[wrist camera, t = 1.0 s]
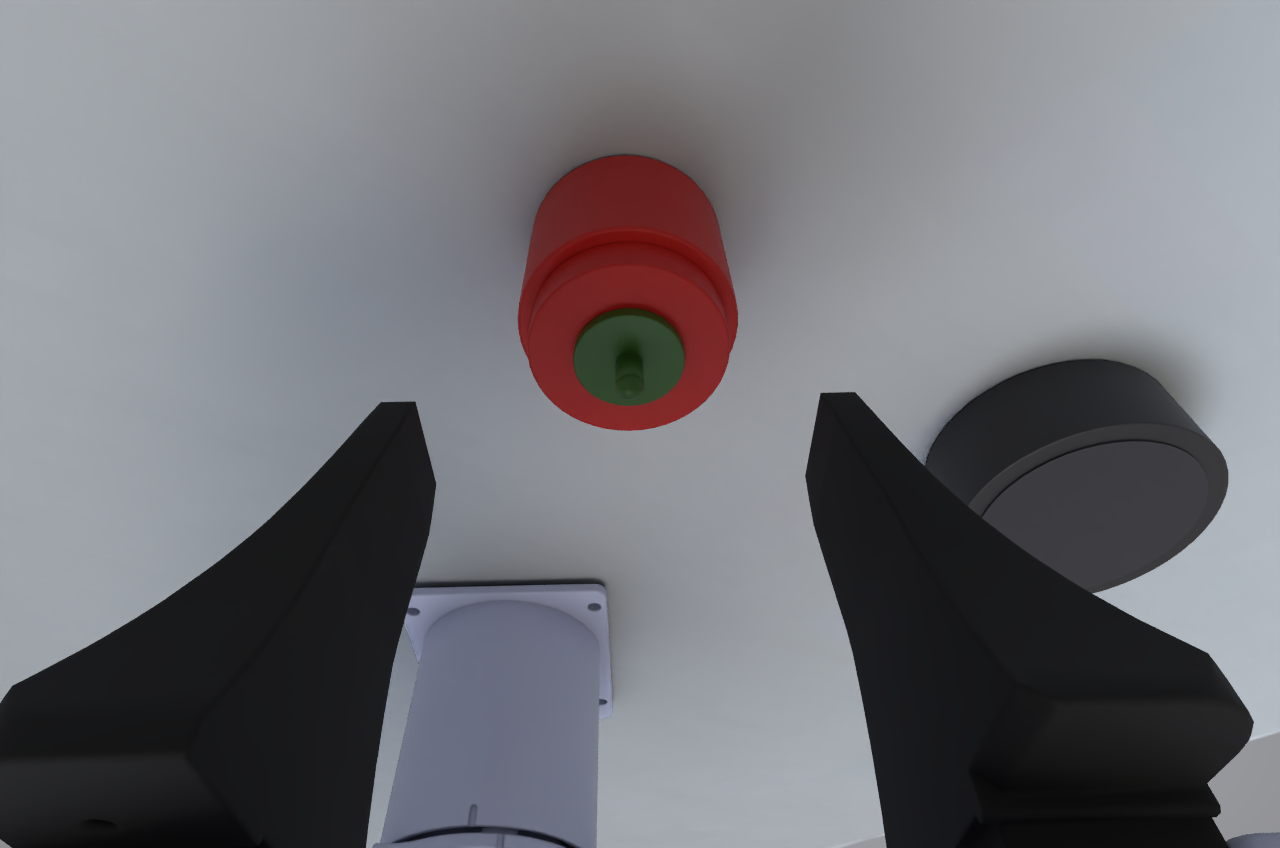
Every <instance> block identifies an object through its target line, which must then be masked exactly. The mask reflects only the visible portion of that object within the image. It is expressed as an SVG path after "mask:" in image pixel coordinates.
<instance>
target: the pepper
mask: <svg viewBox="0 0 1280 848" xmlns="http://www.w3.org/2000/svg"><path fill="white" fill-rule="evenodd" d="M737 327H738V310H737V303H736V298H735V294H734V289H733V285H732V281H731V276H730V272H729V268H728V264H727V259H726V255H725V251H724V246H723V242H722V238H721V234H720V229H719V225H718V221H717V218H716V215H715V212H714V210H713V208H712V206H711V203H710V202H709V200H708V199H707V197H706V195H705V194H704V192H703V191H702V190H701V189H700V188H699V187H698V186H697V184H696V183H695V182H693V181H692V180H691V179H690V178H689V177H688V176H687V175H685V174H684V173H682V172H681V171H679V170H678V169H676V168H674V167H672V166H670V165H668V164H666V163H664V162H661V161H657V160H654V159H651V158H646V157H640V156H627V155H623V156H611V157H606V158H602V159H597V160H595V161H592V162H589V163H586V164H584V165H582V166H580V167H578V168H576V169H574V170H573V171H571V172H570V173H569V174H567V175H566V176H564V177H563V178H562V179H561V180H560V181H559V182H558V183H557V184H556V185H554V187H553V188H552V189H551V190H550V192H549V193H548V194H547V195H546V197H545V199H544V200H543V202H542V204H541V205H540V208H539V210H538V212H537V215H536V218H535V222H534V226H533V230H532V236H531V241H530V247H529V252H528V258H527V264H526V269H525V275H524V280H523V286H522V291H521V297H520V302H519V310H518V330H519V335H520V340H521V343H522V346H523V348H524V351H525V354H526V355H527V357H528V360H529V365H530V368H531V371H532V373H533V376H534V378H535V380H536V382H537V383H538V385H539V387H540V388H541V390H542V391H543V392H544V394H545V395H546V396H547V397H548V398H549V399H550V400H551V401H552V402H553V403H554V404H555V405H556V406H557V407H559V408H560V409H561V410H562V411H564V412H565V413H567V414H569V415H570V416H572V417H574V418H576V419H578V420H580V421H582V422H585V423H587V424H590V425H593V426H597V427H601V428H605V429H612V430H627V431H632V430H644V429H650V428H655V427H659V426H662V425H666V424H668V423H671V422H673V421H676V420H678V419H680V418H682V417H684V416H686V415H688V414H689V413H691V412H692V411H694V410H695V409H697V408H698V407H699V406H700V405H701V404H702V403H704V402H705V401H706V400H707V399H708V397H709V396H710V395H711V394H712V393H713V392H714V390H715V389H716V387H717V386H718V384H719V383H720V381H721V379H722V377H723V375H724V373H725V370H726V367H727V364H728V360H729V354H730V352H731V350H732V347H733V344H734V341H735V338H736V333H737Z"/></svg>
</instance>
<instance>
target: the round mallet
mask: <svg viewBox="0 0 1280 848" xmlns="http://www.w3.org/2000/svg"><path fill="white" fill-rule="evenodd" d="M926 468H927V469H928V470H929V471H930V472H931V473H932V474H933V475H934V476H935V477H936V478H937V479H938V480H939V481H940V482H941V483H942V484H943V485H944V486H946V487H947V488H948V489H949V490H950V491H951V492H952V493H953V494H954V495H956V496H957V497H958V498H959V499H960V500H961V501H962V502H963V503H965V504H966V505H967V506H968V507H969V508H970V509H972V510H973V511H974V512H975V513H976V514H978V515H979V516H980V517H981V518H982V519H984V520H985V521H986V522H988V523H989V524H990V525H991V526H993V527H994V528H995V529H997V530H998V531H999V532H1001V533H1002V534H1003V535H1005V536H1006V537H1007V538H1008V539H1010V540H1011V541H1012V542H1014V543H1015V544H1016V545H1018V546H1019V547H1021V548H1022V549H1023V550H1025V551H1026V552H1028V553H1029V554H1031V555H1032V556H1033V557H1035V558H1036V559H1038V560H1039V561H1041V562H1043V563H1044V564H1046V565H1047V566H1049V567H1050V568H1052V569H1053V570H1055V571H1056V572H1058V573H1059V574H1061V575H1062V576H1064V577H1065V578H1067V579H1069V580H1070V581H1072V582H1073V583H1075V584H1077V585H1078V586H1080V587H1082V588H1083V589H1085V590H1087V591H1088V592H1090V593H1096V592H1099V591H1103V590H1106V589H1109V588H1112V587H1115V586H1118V585H1121V584H1123V583H1126V582H1128V581H1130V580H1133V579H1135V578H1137V577H1139V576H1141V575H1143V574H1145V573H1147V572H1149V571H1151V570H1153V569H1155V568H1157V567H1158V566H1160V565H1162V564H1163V563H1165V562H1167V561H1168V560H1170V559H1171V558H1172V557H1174V556H1175V555H1177V554H1178V553H1180V552H1181V551H1182V550H1183V549H1185V548H1186V547H1187V546H1188V545H1189V544H1191V543H1192V542H1193V541H1194V540H1195V539H1196V538H1197V537H1198V536H1199V535H1200V534H1201V533H1202V532H1203V531H1204V530H1205V529H1206V527H1207V526H1208V525H1209V524H1210V523H1211V521H1212V520H1213V519H1214V517H1215V516H1216V514H1217V512H1218V511H1219V509H1220V507H1221V505H1222V503H1223V500H1224V498H1225V496H1226V492H1227V487H1228V469H1227V464H1226V461H1225V459H1224V457H1223V455H1222V453H1221V451H1220V450H1219V449H1218V448H1217V446H1216V445H1215V444H1214V443H1213V442H1212V441H1211V440H1210V439H1209V438H1208V436H1207V435H1206V434H1205V433H1204V432H1203V431H1202V430H1201V429H1200V428H1199V426H1198V425H1197V424H1196V423H1195V422H1194V421H1193V420H1192V419H1191V418H1190V416H1189V415H1188V414H1187V413H1186V412H1185V411H1184V410H1183V409H1182V408H1181V406H1180V405H1179V404H1178V403H1177V402H1176V401H1175V400H1174V399H1173V398H1172V396H1171V395H1170V394H1169V393H1168V392H1167V391H1166V390H1165V389H1164V388H1163V386H1162V385H1161V384H1160V383H1159V382H1158V381H1157V380H1156V379H1154V378H1153V377H1152V376H1150V375H1149V374H1148V373H1146V372H1143V371H1141V370H1139V369H1137V368H1135V367H1132V366H1129V365H1125V364H1122V363H1117V362H1110V361H1100V360H1083V361H1071V362H1065V363H1059V364H1053V365H1050V366H1046V367H1042V368H1038V369H1035V370H1032V371H1029V372H1027V373H1024V374H1021V375H1018V376H1016V377H1014V378H1012V379H1010V380H1008V381H1005V382H1003V383H1001V384H999V385H998V386H996V387H994V388H992V389H991V390H989V391H987V392H985V393H984V394H983V395H981V396H980V397H978V398H977V399H975V400H974V401H973V402H971V403H970V404H969V405H968V406H966V407H965V408H964V409H963V410H962V411H961V412H959V413H958V414H957V415H956V416H955V417H954V418H953V419H952V421H951V422H950V423H949V424H948V425H947V426H946V427H945V429H944V430H943V431H942V433H941V434H940V435H939V437H938V438H937V440H936V442H935V443H934V445H933V447H932V449H931V451H930V454H929V456H928V459H927V463H926Z"/></svg>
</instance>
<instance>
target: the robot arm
mask: <svg viewBox="0 0 1280 848" xmlns="http://www.w3.org/2000/svg"><path fill="white" fill-rule="evenodd" d="M805 477H806V483H807V489H808V495H809V501H810V507H811V512H812V518H813V523H814V527H815V530H816V534H817V537H818V540H819V544H820V547H821V550H822V553H823V556H824V560H825V563H826V566H827V569H828V572H829V576H830V579H831V582H832V585H833V588H834V591H835V594H836V598H837V601H838V604H839V607H840V610H841V613H842V617H843V620H844V623H845V626H846V629H847V633H848V637H849V640H850V644H851V648H852V652H853V656H854V661H855V666H856V671H857V676H858V681H859V686H860V691H861V696H862V701H863V706H864V711H865V717H866V722H867V728H868V733H869V739H870V744H871V750H872V755H873V761H874V768H875V774H876V780H877V786H878V792H879V798H880V805H881V811H882V817H883V825H884V832H885V839H886V846H887V848H1280V833H1255V834H1247V835H1242V836H1239V837H1235V838H1232V839H1229V840H1228V841H1225V840H1224V838H1223V836H1222V834H1221V833H1220V831H1219V829H1218V827H1217V826H1216V824H1215V822H1214V820H1213V819H1212V817H1217V816H1218V815H1219V814H1220V813H1221V810H1220V805H1219V803H1218V801H1217V799H1216V798H1215V796H1214V794H1213V793H1212V791H1211V789H1210V788H1209V786H1208V784H1207V783H1208V782H1209V781H1210V780H1211V779H1212V778H1213V777H1214V776H1215V775H1216V774H1217V773H1218V772H1219V771H1220V770H1221V769H1222V768H1224V767H1225V766H1226V764H1228V763H1229V762H1230V761H1231V760H1232V759H1233V758H1234V757H1235V756H1236V755H1237V754H1238V753H1239V752H1240V751H1241V749H1242V748H1243V747H1244V746H1245V744H1246V743H1247V742H1248V741H1249V739H1250V736H1251V733H1252V728H1253V724H1254V721H1253V719H1252V717H1251V715H1250V713H1249V711H1248V710H1247V708H1246V707H1245V705H1244V704H1243V702H1242V701H1241V699H1240V698H1239V696H1238V695H1237V693H1236V692H1235V690H1234V689H1233V687H1232V686H1231V684H1230V683H1229V681H1228V680H1227V678H1226V677H1225V676H1224V674H1223V673H1222V671H1221V670H1220V669H1219V667H1218V666H1217V664H1216V663H1215V662H1214V661H1213V659H1212V658H1211V657H1210V655H1209V654H1208V653H1206V652H1204V651H1202V650H1200V649H1198V648H1196V647H1194V646H1192V645H1190V644H1188V643H1186V642H1184V641H1182V640H1179V639H1177V638H1175V637H1173V636H1171V635H1169V634H1167V633H1165V632H1163V631H1161V630H1159V629H1157V628H1155V627H1153V626H1151V625H1149V624H1147V623H1145V622H1142V621H1140V620H1139V619H1137V618H1135V617H1133V616H1131V615H1129V614H1127V613H1126V612H1124V611H1122V610H1120V609H1118V608H1117V607H1115V606H1113V605H1111V604H1110V603H1108V602H1106V601H1104V600H1102V599H1101V598H1099V597H1097V596H1095V595H1093V594H1092V593H1090V592H1088V591H1087V590H1085V589H1083V588H1082V587H1080V586H1078V585H1077V584H1075V583H1073V582H1072V581H1070V580H1069V579H1067V578H1065V577H1064V576H1062V575H1061V574H1059V573H1058V572H1056V571H1055V570H1053V569H1052V568H1050V567H1049V566H1047V565H1046V564H1044V563H1043V562H1041V561H1039V560H1038V559H1036V558H1035V557H1033V556H1032V555H1031V554H1029V553H1028V552H1026V551H1025V550H1023V549H1022V548H1021V547H1019V546H1018V545H1016V544H1015V543H1014V542H1012V541H1011V540H1010V539H1008V538H1007V537H1006V536H1005V535H1003V534H1002V533H1001V532H999V531H998V530H997V529H995V528H994V527H993V526H991V525H990V524H989V523H988V522H986V521H985V520H984V519H982V518H981V517H980V516H979V515H978V514H976V513H975V512H974V511H973V510H972V509H970V508H969V507H968V506H967V505H966V504H965V503H963V502H962V501H961V500H960V499H959V498H958V497H957V496H956V495H954V494H953V493H952V492H951V491H950V490H949V489H948V488H947V487H946V486H944V485H943V484H942V483H941V482H940V481H939V480H938V479H937V478H936V477H935V476H934V475H933V474H932V473H931V472H930V471H929V470H928V469H927V468H926V467H925V466H924V465H923V464H922V463H921V462H920V461H919V460H918V459H917V458H916V457H915V456H914V455H913V454H912V453H911V452H910V451H909V450H908V449H907V448H906V447H905V446H904V445H903V444H902V443H901V442H900V441H899V440H898V438H897V437H896V436H895V435H894V434H893V433H892V432H891V431H890V430H889V429H888V428H887V427H886V425H885V424H884V423H883V422H882V421H881V420H880V419H879V418H878V417H877V416H876V415H875V413H874V412H873V411H872V410H871V409H870V408H869V407H868V406H867V405H866V404H865V402H864V401H863V400H862V399H861V398H860V397H859V396H858V395H857V394H856V393H855V392H843V393H821V395H820V400H819V405H818V411H817V416H816V421H815V427H814V432H813V437H812V443H811V448H810V453H809V459H808V464H807V470H806V475H805ZM435 490H436V481H435V477H434V473H433V469H432V465H431V461H430V458H429V454H428V450H427V446H426V442H425V438H424V434H423V430H422V426H421V422H420V418H419V414H418V410H417V406H416V402H381V403H380V404H379V405H378V406H377V407H376V408H375V409H374V410H373V411H372V412H371V413H370V414H369V415H368V417H367V418H366V419H365V420H364V421H363V422H362V423H361V424H360V425H359V427H358V428H357V429H356V430H355V431H354V432H353V433H352V434H351V436H350V437H349V438H348V439H347V440H346V441H345V442H344V443H343V445H342V446H341V447H340V448H339V449H338V450H337V451H336V452H335V453H334V454H333V456H332V457H331V458H330V459H329V460H328V461H327V462H326V463H325V464H324V465H323V466H322V467H321V468H320V469H319V470H318V472H317V473H316V474H315V475H314V476H313V477H312V478H311V479H310V480H309V481H308V482H307V483H306V484H305V485H304V486H303V487H302V488H301V489H300V490H299V491H298V492H297V493H296V494H295V495H294V496H293V497H292V498H291V499H290V500H289V501H288V502H287V503H286V504H285V505H284V506H283V507H282V508H281V509H279V510H278V511H277V512H276V513H275V514H274V515H273V516H272V517H271V518H270V519H269V520H268V521H267V522H266V523H265V524H263V525H262V526H261V527H260V528H259V529H258V530H256V531H255V532H254V533H253V534H252V535H251V536H250V537H248V538H247V539H246V540H245V541H243V542H242V543H241V544H240V545H238V546H237V547H236V548H235V549H233V550H232V551H231V552H230V553H229V554H227V555H226V556H225V557H224V558H222V559H221V560H220V561H218V562H217V563H216V564H214V565H213V566H212V567H210V568H209V569H207V570H206V571H205V572H203V573H202V574H200V575H199V576H198V577H196V578H195V579H193V580H192V581H190V582H189V583H188V584H186V585H185V586H183V587H182V588H181V589H179V590H178V591H176V592H175V593H174V594H172V595H171V596H169V597H168V598H166V599H165V600H163V601H162V602H160V603H159V604H157V605H156V606H154V607H153V608H151V609H149V610H148V611H146V612H145V613H143V614H142V615H140V616H138V617H137V618H135V619H134V620H132V621H130V622H129V623H127V624H125V625H124V626H122V627H120V628H119V629H117V630H115V631H114V632H112V633H110V634H109V635H107V636H105V637H104V638H102V639H100V640H98V641H96V642H95V643H93V644H91V645H89V646H88V647H86V648H84V649H82V650H80V651H78V652H77V653H75V654H73V655H71V656H69V657H67V658H65V659H63V660H61V661H59V662H58V663H56V664H54V665H52V666H50V667H48V668H46V669H44V670H42V671H41V672H39V673H37V674H35V675H33V676H31V677H29V678H27V679H25V680H23V681H21V682H19V683H17V684H15V685H13V686H12V687H11V689H10V690H9V691H8V693H7V694H6V695H5V697H4V698H3V700H2V701H1V703H0V839H1V840H2V841H4V842H5V843H6V844H8V845H9V846H10V847H12V848H366V841H367V832H368V824H369V816H370V809H371V801H372V794H373V786H374V778H375V771H376V764H377V757H378V751H379V744H380V738H381V731H382V725H383V718H384V712H385V707H386V701H387V695H388V689H389V684H390V678H391V672H392V667H393V662H394V658H395V654H396V649H397V645H398V641H399V638H400V634H401V631H402V627H403V624H404V623H405V626H406V629H407V631H408V634H409V637H410V640H411V643H412V646H413V649H414V652H415V655H416V657H417V660H418V663H419V668H418V673H417V677H416V682H415V686H414V691H413V695H412V700H411V704H410V709H409V714H408V718H407V723H406V727H405V732H404V736H403V741H402V745H401V750H400V754H399V759H398V764H397V768H396V773H395V777H394V782H393V786H392V791H391V795H390V800H389V804H388V809H387V814H386V818H385V823H384V827H383V832H382V836H381V841H380V843H375V844H374V845H373V847H372V848H596V843H597V783H598V724H599V719H604V718H608V717H610V716H611V715H612V714H613V699H612V680H611V661H610V643H609V624H608V605H607V591H606V589H605V588H604V587H603V586H601V585H599V584H562V585H520V586H478V587H436V588H414V586H415V582H416V579H417V576H418V572H419V569H420V565H421V561H422V558H423V554H424V551H425V547H426V544H427V540H428V536H429V531H430V525H431V519H432V512H433V505H434V497H435Z"/></svg>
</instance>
